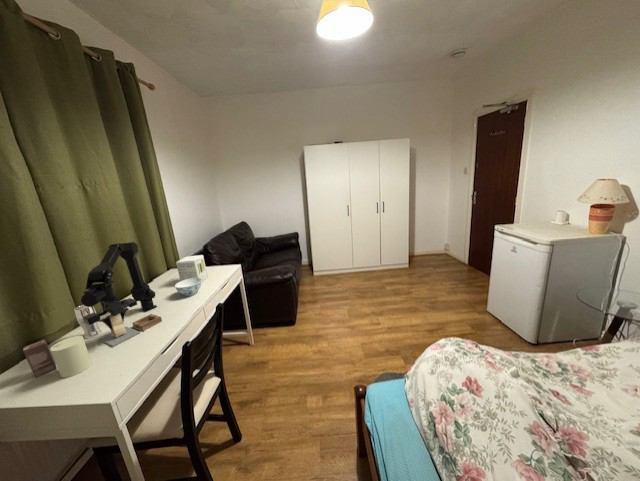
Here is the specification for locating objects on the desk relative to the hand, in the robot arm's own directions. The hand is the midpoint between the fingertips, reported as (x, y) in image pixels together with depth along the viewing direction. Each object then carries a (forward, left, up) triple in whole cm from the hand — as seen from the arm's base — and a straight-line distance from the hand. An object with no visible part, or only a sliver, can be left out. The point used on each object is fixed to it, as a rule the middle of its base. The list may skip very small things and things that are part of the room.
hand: (117, 327), depth 118 cm
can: (+9, -19, -5) cm, 21 cm away
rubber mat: (0, 0, -5) cm, 5 cm away
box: (-2, -25, -5) cm, 25 cm away
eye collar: (+2, +11, -5) cm, 13 cm away
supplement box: (-27, +58, -5) cm, 65 cm away
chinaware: (-10, +43, -5) cm, 45 cm away
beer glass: (-16, -5, -5) cm, 17 cm away
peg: (0, 0, -4) cm, 4 cm away
